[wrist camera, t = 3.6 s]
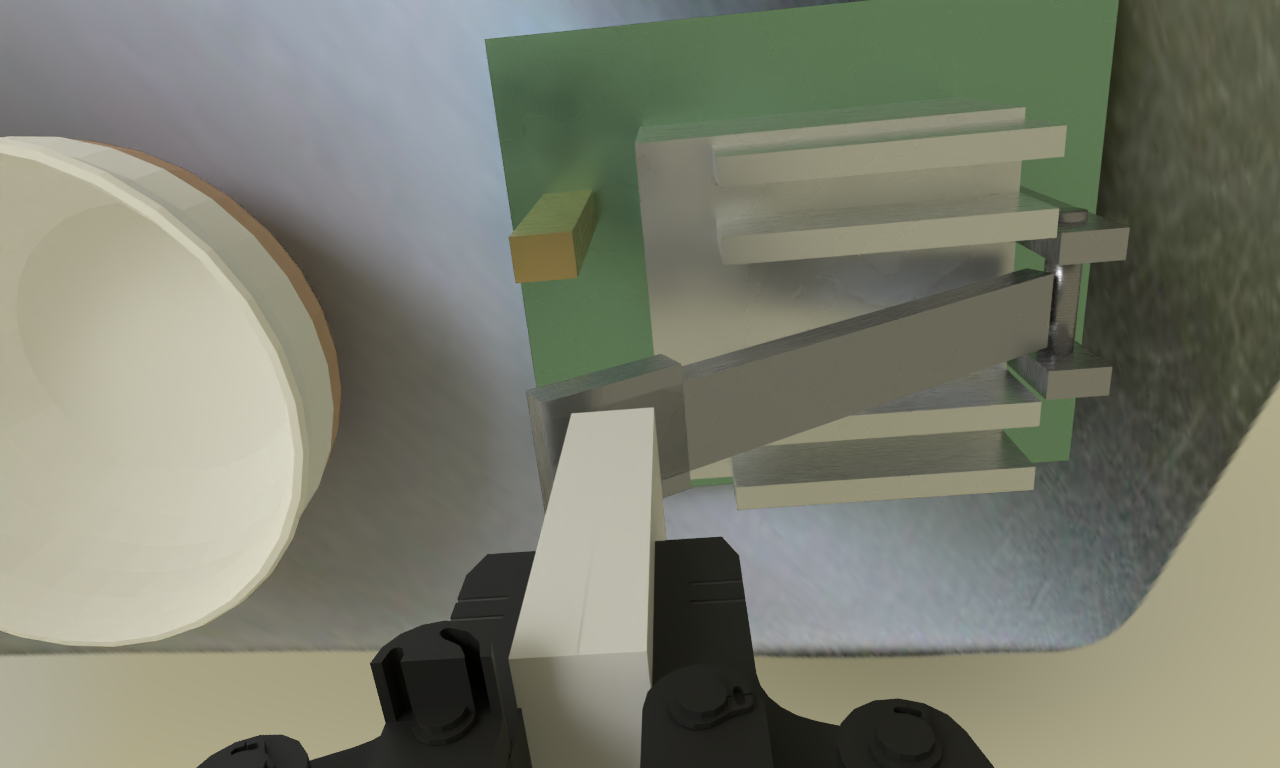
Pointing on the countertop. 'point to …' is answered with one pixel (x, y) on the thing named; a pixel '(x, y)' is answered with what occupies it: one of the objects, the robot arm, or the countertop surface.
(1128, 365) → the countertop surface
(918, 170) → the heatsink
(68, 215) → the bowl
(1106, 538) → the countertop surface
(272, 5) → the countertop surface
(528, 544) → the countertop surface
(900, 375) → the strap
